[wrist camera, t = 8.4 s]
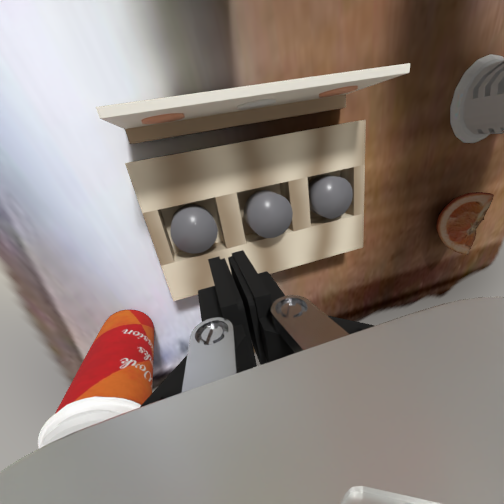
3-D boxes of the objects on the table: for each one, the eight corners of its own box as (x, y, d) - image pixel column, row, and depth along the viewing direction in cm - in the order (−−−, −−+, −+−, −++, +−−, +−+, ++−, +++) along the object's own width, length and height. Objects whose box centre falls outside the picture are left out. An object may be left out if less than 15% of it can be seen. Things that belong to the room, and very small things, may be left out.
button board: (344, 123, 28) (365, 119, 25) (345, 238, 34) (363, 247, 31) (131, 161, 24) (125, 163, 21) (174, 285, 30) (173, 301, 27)
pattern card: (340, 76, 26) (411, 43, 18) (340, 108, 28) (408, 91, 19) (119, 107, 22) (87, 83, 14) (131, 144, 24) (108, 140, 16)
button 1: (209, 200, 26) (211, 204, 24) (218, 239, 28) (221, 247, 25) (165, 209, 25) (164, 215, 23) (177, 249, 27) (177, 258, 25)
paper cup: (167, 347, 33) (161, 469, 20) (102, 360, 31) (50, 504, 18) (156, 295, 30) (141, 400, 17) (83, 307, 28) (7, 434, 15)
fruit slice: (450, 244, 40) (484, 255, 35) (417, 243, 38) (449, 256, 33) (471, 190, 37) (511, 195, 32) (436, 186, 35) (474, 192, 31)
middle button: (280, 186, 26) (290, 189, 24) (285, 225, 28) (294, 232, 26) (240, 195, 25) (246, 199, 23) (247, 235, 27) (253, 242, 25)
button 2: (338, 171, 29) (352, 173, 26) (339, 209, 30) (352, 213, 28) (303, 179, 28) (314, 181, 25) (306, 217, 30) (317, 222, 27)
